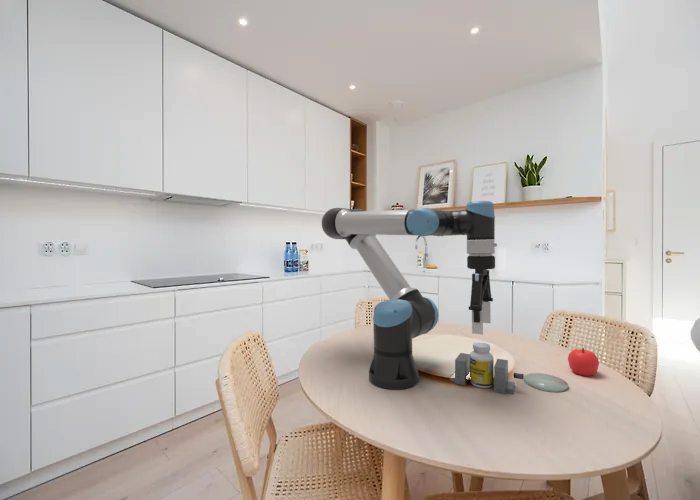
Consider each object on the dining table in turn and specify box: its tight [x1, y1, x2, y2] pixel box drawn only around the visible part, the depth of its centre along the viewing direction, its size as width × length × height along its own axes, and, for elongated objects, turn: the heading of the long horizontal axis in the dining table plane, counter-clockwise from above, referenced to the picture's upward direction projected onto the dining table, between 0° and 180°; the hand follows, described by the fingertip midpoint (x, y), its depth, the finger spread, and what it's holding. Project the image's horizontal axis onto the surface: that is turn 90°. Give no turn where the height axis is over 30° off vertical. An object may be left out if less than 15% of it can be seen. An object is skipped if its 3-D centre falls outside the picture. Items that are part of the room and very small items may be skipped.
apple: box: [567, 347, 600, 377], centre depth 102 cm, size 8×8×8 cm
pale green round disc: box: [523, 372, 569, 393], centre depth 96 cm, size 11×11×1 cm
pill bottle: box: [469, 341, 495, 389], centre depth 96 cm, size 6×6×12 cm
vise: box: [449, 352, 525, 395], centre depth 96 cm, size 19×7×7 cm, turn 59°
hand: (481, 328), depth 96 cm, fingers open, 13 cm apart
